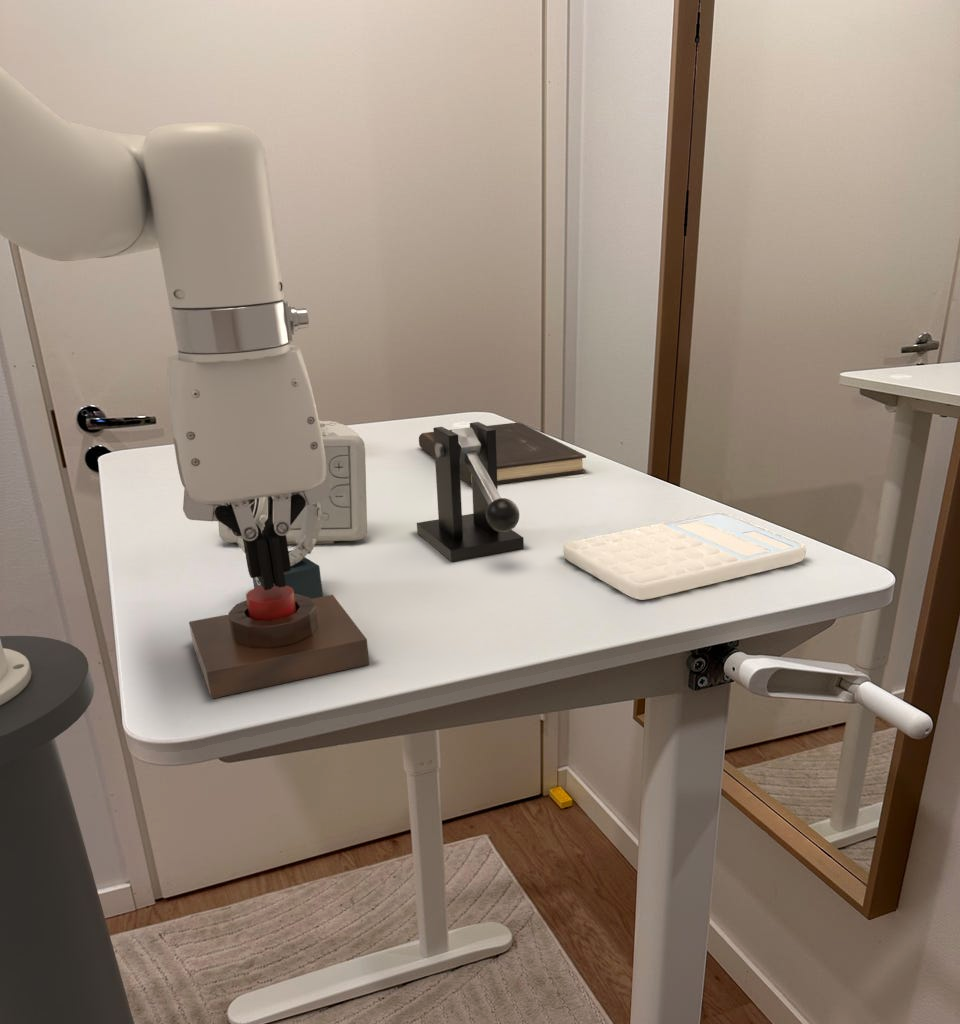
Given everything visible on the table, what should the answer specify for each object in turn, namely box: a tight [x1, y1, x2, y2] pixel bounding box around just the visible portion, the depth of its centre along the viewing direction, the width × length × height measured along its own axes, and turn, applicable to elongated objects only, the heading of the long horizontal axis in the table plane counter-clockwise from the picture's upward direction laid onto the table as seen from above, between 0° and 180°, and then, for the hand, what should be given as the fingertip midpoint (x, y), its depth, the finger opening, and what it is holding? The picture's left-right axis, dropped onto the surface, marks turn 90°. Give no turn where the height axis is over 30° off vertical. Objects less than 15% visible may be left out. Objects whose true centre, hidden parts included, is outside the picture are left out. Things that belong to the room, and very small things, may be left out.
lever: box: [451, 426, 520, 532], centre depth 88 cm, size 13×3×3 cm, turn 23°
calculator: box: [562, 511, 807, 601], centre depth 87 cm, size 13×20×2 cm, turn 116°
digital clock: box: [217, 435, 368, 545], centre depth 96 cm, size 16×9×11 cm, turn 75°
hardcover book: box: [418, 421, 587, 487], centre depth 125 cm, size 16×23×2 cm
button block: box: [188, 594, 370, 700], centre depth 71 cm, size 12×10×4 cm
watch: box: [231, 497, 324, 599], centre depth 81 cm, size 6×8×11 cm
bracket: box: [416, 421, 525, 562], centre depth 93 cm, size 10×8×12 cm
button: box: [245, 585, 296, 620], centre depth 70 cm, size 4×4×2 cm
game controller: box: [319, 420, 360, 437], centre depth 131 cm, size 14×4×10 cm
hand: (271, 582), depth 69 cm, fingers closed
